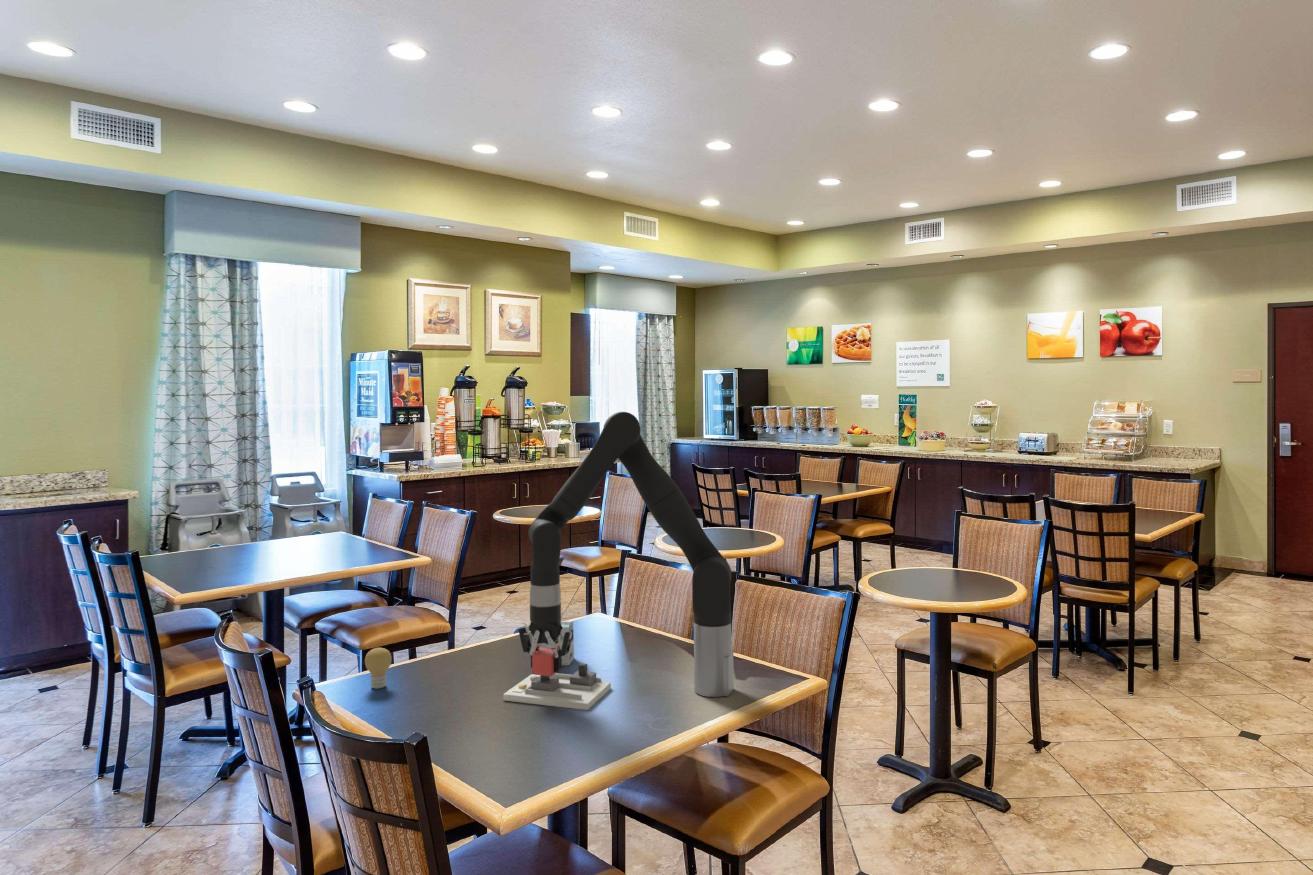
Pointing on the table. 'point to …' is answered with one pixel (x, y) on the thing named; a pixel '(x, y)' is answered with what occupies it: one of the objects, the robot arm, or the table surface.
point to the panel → (562, 690)
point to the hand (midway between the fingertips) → (546, 670)
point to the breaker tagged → (545, 683)
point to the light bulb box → (569, 656)
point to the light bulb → (378, 666)
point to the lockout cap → (543, 662)
